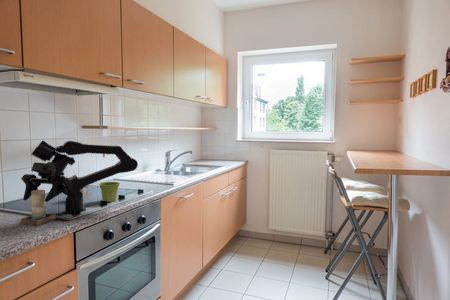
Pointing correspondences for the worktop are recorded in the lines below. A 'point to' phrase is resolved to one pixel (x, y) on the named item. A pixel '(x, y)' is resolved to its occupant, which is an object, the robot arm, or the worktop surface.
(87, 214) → the worktop surface
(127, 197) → the worktop surface
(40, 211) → the birch sleeve
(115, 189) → the plant pot
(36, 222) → the walnut socket tray
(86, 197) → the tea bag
